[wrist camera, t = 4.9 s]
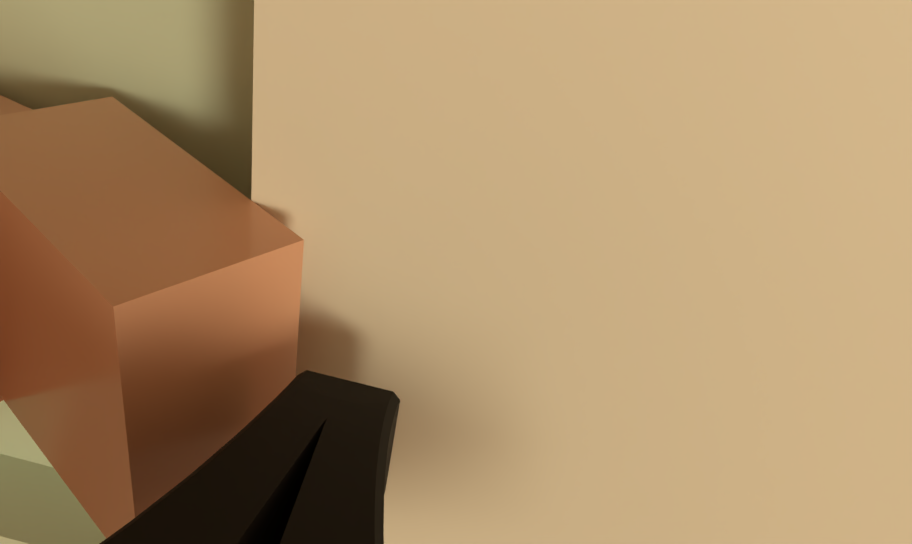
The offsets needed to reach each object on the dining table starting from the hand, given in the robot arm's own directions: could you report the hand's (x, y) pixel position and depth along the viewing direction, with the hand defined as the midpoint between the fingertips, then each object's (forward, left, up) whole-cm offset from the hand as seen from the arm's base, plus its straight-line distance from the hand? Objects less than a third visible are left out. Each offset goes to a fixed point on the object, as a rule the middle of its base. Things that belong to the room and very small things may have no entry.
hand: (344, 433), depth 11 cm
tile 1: (0, +3, -2) cm, 4 cm away
